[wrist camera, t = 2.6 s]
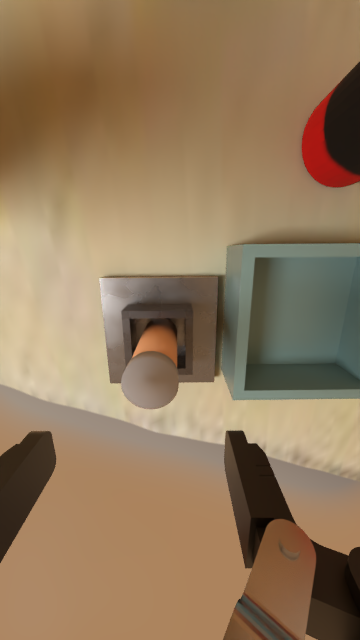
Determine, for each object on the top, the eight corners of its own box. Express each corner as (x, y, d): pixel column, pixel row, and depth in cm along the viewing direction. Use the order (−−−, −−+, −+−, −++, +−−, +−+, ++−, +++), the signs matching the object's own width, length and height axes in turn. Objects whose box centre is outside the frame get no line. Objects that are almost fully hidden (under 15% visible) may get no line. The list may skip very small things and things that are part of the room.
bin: (221, 369, 27) (232, 400, 22) (227, 246, 23) (243, 244, 18) (337, 367, 28) (380, 398, 22) (363, 245, 24) (422, 242, 18)
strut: (143, 350, 25) (123, 409, 16) (142, 316, 24) (118, 359, 15) (178, 349, 25) (178, 408, 16) (178, 316, 24) (178, 358, 15)
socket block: (113, 377, 28) (102, 399, 24) (102, 276, 24) (88, 281, 20) (212, 376, 28) (218, 397, 24) (216, 276, 24) (224, 280, 20)
